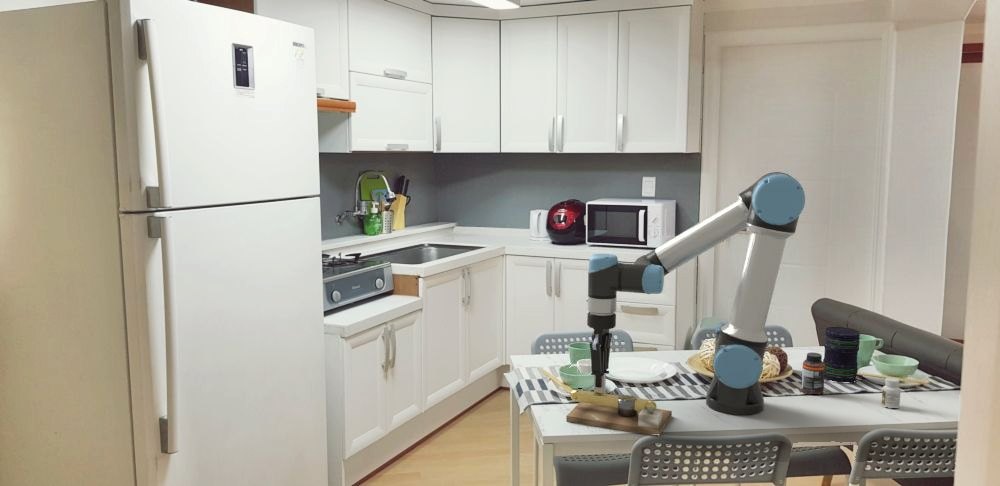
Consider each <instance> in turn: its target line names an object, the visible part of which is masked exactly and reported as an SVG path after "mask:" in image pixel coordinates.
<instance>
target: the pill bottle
mask: <svg viewBox="0 0 1000 486" xmlns="http://www.w3.org/2000/svg"><path fill="white" fill-rule="evenodd" d="M884 380H885V382H884V384H885V385H883V386H882V394H881V395H882V396H881V406H882V405H883V406H885V407H888V408H898V409H900V404H901V403H900V402H901V392H902V391H901V388H900V387H899V386H900V379H899V378H897V377H895V378H894V377H886V378H885V379H884ZM883 406H882V407H883ZM885 407H884V408H885ZM888 408H887V409H888Z"/></svg>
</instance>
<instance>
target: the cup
mask: <svg viewBox="0 0 1000 486" xmlns="http://www.w3.org/2000/svg"><path fill="white" fill-rule="evenodd" d="M588 365H590V366H588ZM569 366H570V365H569ZM569 366H568V367H569ZM572 367H575V368H577V370H578V369H579V371H580V373H590V372H592V366H591V358H584V359H579V360H578V361H576V364H571V366H570V367H569V368H570V369H571V368H572Z"/></svg>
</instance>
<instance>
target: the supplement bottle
mask: <svg viewBox="0 0 1000 486" xmlns="http://www.w3.org/2000/svg"><path fill="white" fill-rule="evenodd" d="M822 357H823V355H822V354H821V353H818V352H807V353H806V359H804V360H803V361H802V370H801V371H802V373H801V375H802V376H801V391H802V392H803V393H804V392H806V393H805V394H807V393H812V394H819V395H821V394H820V393H822V394H823V393H824V392H825V391H824V390H825V379H824V374H825V364H824V362H823V358H822Z"/></svg>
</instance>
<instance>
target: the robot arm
mask: <svg viewBox="0 0 1000 486" xmlns="http://www.w3.org/2000/svg"><path fill="white" fill-rule="evenodd" d="M805 203H806V196H805V191H804V188H803V187H802V184H801V183H800V182H799V181H798V180H797V179H796V178H795V177H793V176H792V175H790V174H789V173H788V174H787V173H785V172H782V171H772V172H769V173H767V174H764V175H762V176H761V177H760V178H758V180H757V181H755V182H754V183H753V184H751V185H750V186H748V187H747V188H746V189H745V190H742V191H741V192H740V193H738V194H737V196H736V200H733V202H731V203H729V204H727V205H726V206H724V207H722V208H721V209H718V210H717V211H716V212H713V214H711V215H710V216H707V217H706V218H704V219H703V220H701V221H699V222H698V223H696V224H695V225H693V226H691V227H690V228H689V227H688V229H686V230H684V231H682V232H681V233H680V234H678V235H676V236H674V237H673V238H670V240H668V241H666V242H665V243H663V244H661V245H660V246H658V247H657V248H655V249H652V250H651V251H650V252H648V253H647V254H643V255H641V256H640V257H637V259H636V260H635V261H634V263H623V262H619V260H618V256H617V255H616V254H612V253H611V254H610V253H594V254H593V255H591V256H590V257H589V259H588V260H589V261H588V262H589V263H588V271H587V274H588V281H587V282H588V283H587V284H588V285H587V287H588V288H587V292H588V293H587V298H586V300H585V302H586V303H587V311H588V312H587V320H586V321H587V322H586V323H587V324H586V325H587V326H588V327H589V328H590V329H593V332H592V335H591V340H592V341H590V342H589V350H590V359H591V366H592V373H591V375H594V391H593V392H597V393H604V394H606V383H607V382H606V381H607V380H606V379H607V375H609V374H610V371H609V370H608V369H609V365H610V354H611V353H610V352H611V342H612V337H613V333H611V332H610V330H612V329H614V328H616V325H617V322H616V321H617V314H616V311H617V297H618V296H617V292H620V293H633V294H634V293H635V294H646V295H654V294H655V295H657V294H658V295H659V294H661V293H662V292H663V291H664V282H665V276H667V275H668V274H669V273H671V272H673V271H674V270H676V269H678V268H680V267H681V266H683V265H685V264H686V263H688V262H690V261H692V260H693V259H695V258H697V257H698V256H700V255H702V254H703V253H706V252H707V251H708V250H711V249H712V248H714V247H716V246H717V245H719V244H721V243H722V242H724V241H727V240H728V239H730V238H731V237H733V236H735V235H737V234H738V233H740V232H741V231H743V230H745V229H746V228H748V229H749V231H750V233H749V237H748V241H747V245H746V248H745V253H744V258H743V262H742V266H741V270H740V274H739V278H738V281H737V282H738V283H737V287H736V290H735V291H736V292H735V295H734V299H733V303H732V308H731V312H730V316H729V320H728V321H721V322H718V323H717V324H716V326H715V331H714V335H715V340H714V341H715V344H714V354H713V358H712V369H713V378H712V380H711V382H710V385H709V387H708V390H707V392H706V395H705V396H706V397H705V398H706V399H705V404H706V405H707V406H708V407H709V408H710V409H712V410H715V411H716V412H720V413H724V414H730V415H742V416H744V415H747V416H748V415H756V414H759V413H761V412H762V411H763V410H764V408H765V407H764V406H765V400H764V399H765V398H764V396H763V393H762V389H761V385H760V382H759V380H760V378H761V375H762V374H763V372H764V371H763V370H764V366H763V365H764V364H763V361H764V357H765V353H766V349H767V344H768V341H769V338H768V336H767V334H766V333H765V327H766V323H767V318H768V315H769V310H770V308H771V302H772V298H773V295H774V291H775V287H776V286H775V285H776V283H777V279H778V274H779V271H780V266H781V263H782V259H783V254H784V252H785V251H784V250H785V246H786V242H787V239H788V238H790V237H792V236H793V235H795V234H796V229H797V226H798V222H799V218H800V215H801V213H802V212H803V210H804V208H805V205H806V204H805Z"/></svg>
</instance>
